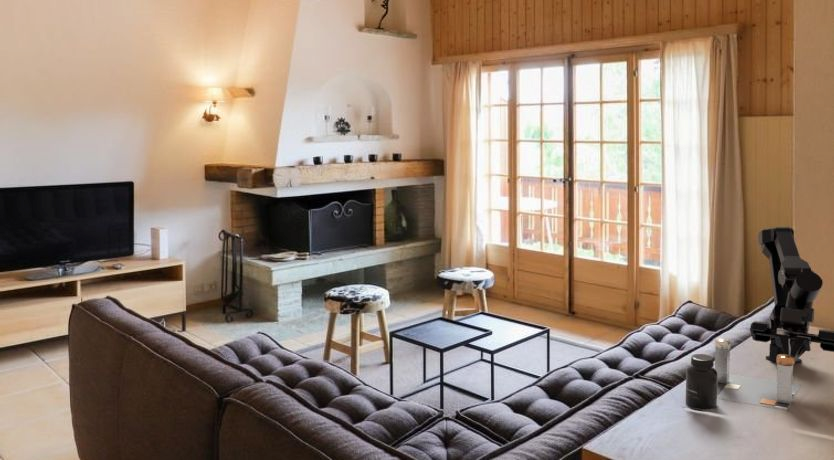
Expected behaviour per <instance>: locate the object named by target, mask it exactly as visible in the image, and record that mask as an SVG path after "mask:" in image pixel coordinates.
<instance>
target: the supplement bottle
mask: <svg viewBox="0 0 834 460" xmlns="http://www.w3.org/2000/svg"><path fill="white" fill-rule="evenodd" d="M690 360H691V361H690V366H689V367H688V368H687V369H686V370H685V371H686V372H685V405H687V406H688V407H689V408H690V409H692V410H693V411H698V412H704V411H707V410H713V409H715V408H717V403H718V398H717V383H718V373H717V371H716V370H715V358H714V357H713V356H712V355H710V354H705V353H696V354H691V357H690Z"/></svg>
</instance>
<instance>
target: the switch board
mask: <svg viewBox="0 0 834 460" xmlns="http://www.w3.org/2000/svg"><path fill="white" fill-rule="evenodd" d="M800 387H801V384H800V385H799V384H794V383H792V401H791V403H790V404H787V403H781V402H776V396H777V380H769V379H763V378H756V377H751V376H744V375H738V374H732V373H729V381H728V383H727V384H724V383H717V399H720V400H725V401H732V402H735V403H740V404H741V403H743V404H747V405H753V406H758V407H763V408H769V409H776V410H780V411H784V412H785V411H786V412H788V411H789V409H790V407H791V405H792V404H793V401H794V399H795V397H796V395H797V393H798V391H799V389H800Z"/></svg>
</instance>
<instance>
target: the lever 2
mask: <svg viewBox="0 0 834 460" xmlns="http://www.w3.org/2000/svg"><path fill="white" fill-rule="evenodd" d="M776 365H777V368H776V372H777V373H776V381H777V396H776V402H781V403H787V404H790V403H791V401H792V384H794V383H793V382H794V381H793V379H794V378H793V376H794V365H795V363H794V357H793V356H791V355H786V354H780V355H777V362H776ZM792 402H793V401H792ZM791 404H792V403H791Z"/></svg>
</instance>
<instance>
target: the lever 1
mask: <svg viewBox="0 0 834 460" xmlns="http://www.w3.org/2000/svg"><path fill="white" fill-rule="evenodd" d="M731 343H732V342H731V340H730V339H729V338H724V337H722V338H721V337H719V338H715V339H714V347H715V348H714V349H715V351H714V369H715V370H716V371H717V373H718V383H724V384H727V383H728V381H729V374H730V371H731V370H730V366H731V365H730V360H731V357H730V356H731V348H732V346H731Z"/></svg>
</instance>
